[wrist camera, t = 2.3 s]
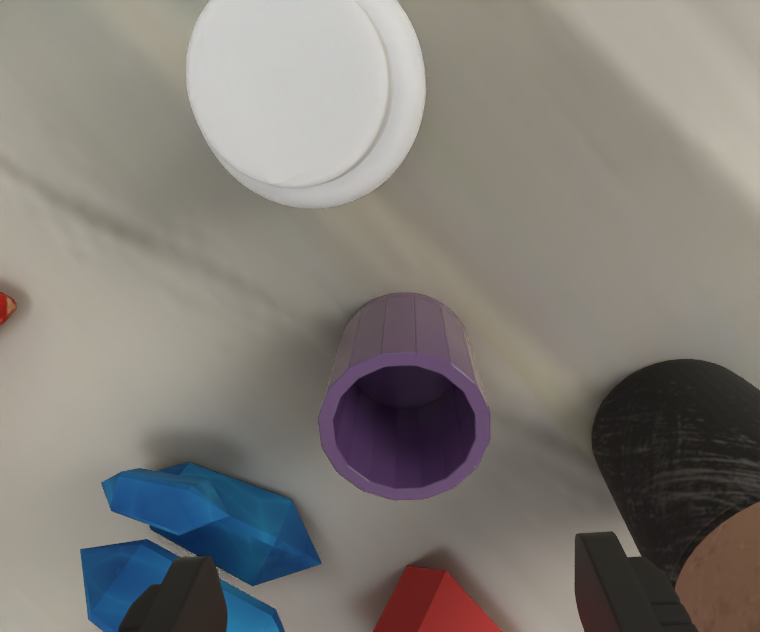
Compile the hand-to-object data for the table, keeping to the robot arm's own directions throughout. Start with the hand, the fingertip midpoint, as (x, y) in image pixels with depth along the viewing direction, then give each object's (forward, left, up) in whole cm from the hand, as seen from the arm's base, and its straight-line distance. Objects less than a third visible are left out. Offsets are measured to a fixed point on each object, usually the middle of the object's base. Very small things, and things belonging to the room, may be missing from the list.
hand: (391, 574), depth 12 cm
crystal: (+11, +4, -12) cm, 17 cm away
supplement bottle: (-3, -10, -12) cm, 16 cm away
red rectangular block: (+4, +15, -8) cm, 17 cm away
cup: (0, 0, -12) cm, 12 cm away
